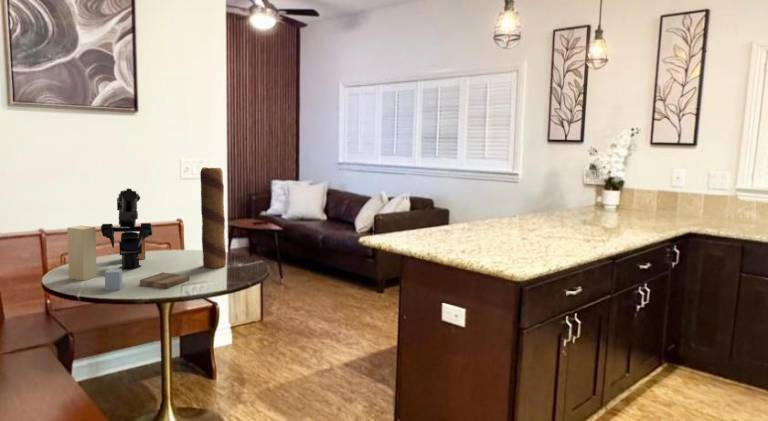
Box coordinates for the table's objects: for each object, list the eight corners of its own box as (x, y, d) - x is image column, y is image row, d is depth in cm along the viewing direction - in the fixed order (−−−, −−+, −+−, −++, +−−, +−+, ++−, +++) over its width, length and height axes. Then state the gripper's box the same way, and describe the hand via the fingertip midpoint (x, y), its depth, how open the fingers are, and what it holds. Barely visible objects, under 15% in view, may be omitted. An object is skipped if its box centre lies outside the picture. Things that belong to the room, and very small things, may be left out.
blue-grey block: (108, 286, 208) (107, 269, 207) (122, 286, 209) (121, 268, 208) (105, 290, 203) (104, 272, 202) (119, 289, 204) (119, 271, 203)
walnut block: (140, 284, 212) (139, 279, 211) (162, 277, 224) (162, 272, 224) (167, 288, 208) (167, 283, 208) (189, 280, 220) (189, 275, 220)
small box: (127, 261, 249) (126, 233, 248) (125, 258, 255) (124, 231, 253) (145, 259, 254) (145, 232, 252) (143, 256, 259) (142, 230, 257)
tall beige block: (99, 276, 221) (97, 226, 219) (83, 281, 215) (81, 229, 212) (84, 274, 224) (82, 224, 221) (68, 278, 217) (66, 227, 214)
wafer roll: (196, 267, 242) (194, 167, 236) (212, 262, 252) (211, 166, 246) (215, 270, 238) (214, 168, 232) (230, 265, 248) (229, 167, 242)
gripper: (100, 204, 216) (96, 235, 207) (151, 203, 222) (148, 234, 213) (105, 220, 224) (100, 251, 215) (153, 219, 230) (151, 250, 221)
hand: (125, 246), depth 216 cm, fingers open, 9 cm apart
